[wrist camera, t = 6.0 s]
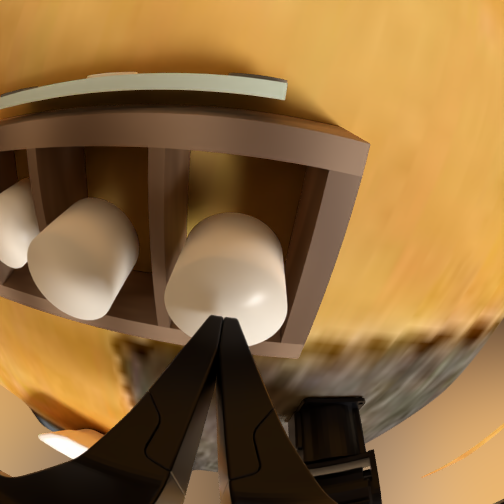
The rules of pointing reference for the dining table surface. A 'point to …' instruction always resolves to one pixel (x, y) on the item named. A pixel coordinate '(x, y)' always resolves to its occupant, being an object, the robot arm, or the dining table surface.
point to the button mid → (84, 258)
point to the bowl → (71, 441)
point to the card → (152, 85)
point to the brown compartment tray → (176, 199)
